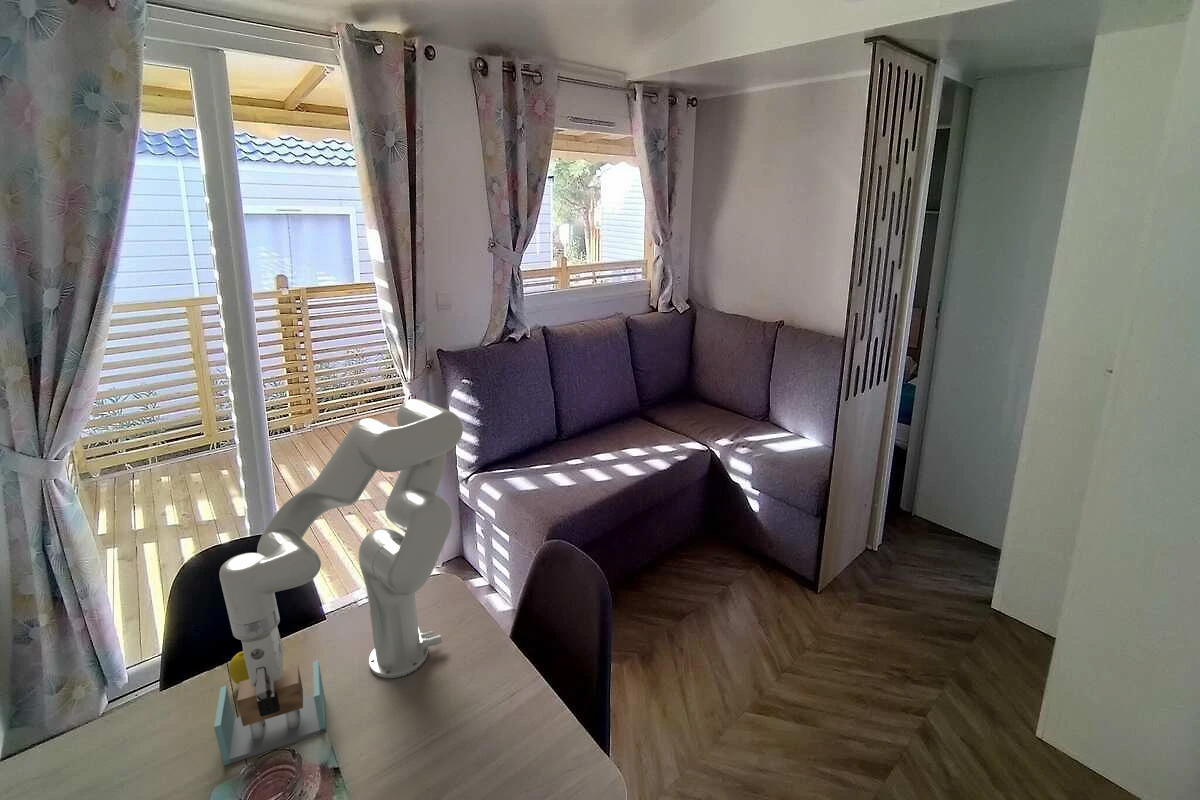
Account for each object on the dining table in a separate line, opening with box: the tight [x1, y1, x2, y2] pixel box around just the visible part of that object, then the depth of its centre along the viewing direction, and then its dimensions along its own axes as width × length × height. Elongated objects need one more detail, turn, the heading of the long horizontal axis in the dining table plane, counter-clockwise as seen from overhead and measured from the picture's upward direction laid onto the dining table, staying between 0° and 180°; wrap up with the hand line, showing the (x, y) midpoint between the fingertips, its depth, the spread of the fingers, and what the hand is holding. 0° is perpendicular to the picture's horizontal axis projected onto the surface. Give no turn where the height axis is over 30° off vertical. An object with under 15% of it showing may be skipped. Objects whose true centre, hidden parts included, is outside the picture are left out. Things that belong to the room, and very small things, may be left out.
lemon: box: [228, 650, 249, 685], centre depth 125 cm, size 6×6×8 cm
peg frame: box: [213, 659, 327, 766], centre depth 114 cm, size 17×10×9 cm, turn 116°
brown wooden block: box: [236, 665, 304, 726], centre depth 113 cm, size 10×5×6 cm, turn 116°
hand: (271, 694), depth 113 cm, fingers open, 9 cm apart
